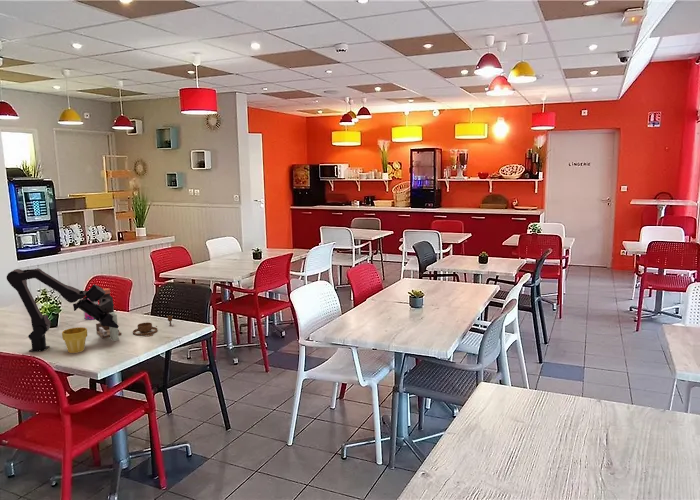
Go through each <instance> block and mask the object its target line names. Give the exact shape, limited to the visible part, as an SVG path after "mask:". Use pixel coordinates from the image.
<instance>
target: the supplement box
mask: <svg viewBox="0 0 700 500" xmlns="http://www.w3.org/2000/svg"><path fill="white" fill-rule="evenodd" d="M93 303H95V304H97V305H99V300H98V301H97V302H93ZM83 318H84V320H90V321H92V320H95V319H94V318H93V317H91V316H89V315H88V314H87V313H85V312H84V311H83Z"/></svg>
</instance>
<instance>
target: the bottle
mask: <svg viewBox="0 0 700 500" xmlns="http://www.w3.org/2000/svg"><path fill="white" fill-rule="evenodd" d="M102 289H103V290H104V291H105V292H106V293H105V294H104V295H103V296H102V297H101V298H100V299H99V300H98V305H99V304H100V303H101V299H103V298H105V299H106V300H107V299H110V300H111V301H112V302H113V303H114V297H112V296H111V288H108V287H107V288H102ZM114 310H115V309H114V306H113V307H110V308H108V309H107V310H106V311H107V312H108V313H112V312H114V313H115V311H114Z"/></svg>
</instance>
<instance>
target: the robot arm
mask: <svg viewBox="0 0 700 500" xmlns="http://www.w3.org/2000/svg"><path fill="white" fill-rule="evenodd" d="M30 279H36V280H38V281H39V282H41V283H42V284H44V285H46V286H47V287H49V288H51V289H52V290H55V292H57V293H58V294H59V295H61V297H62V298H63V299H64V300H65V301H67V302H68V303H72V307H73V311H77V310H78V309H79V310H81V311H82V312H83V313H84V312H85V313H87V314H88V315H89V316H91V317H93V318H94V320H96V322H99V323H100V324H101V325H102V326H104V327H105V326H107V327H113V328H118V329H119V327H120V326H119V325H118V323H117V324H116V323H115V322H114V321H113V316H112V315H111V314H110V313H108V312H107V311H106V310H107V309H108V308H110V307H114V306H115V304H114V301H113V302H112V301H111V300H110V299H107V300H106V299H105V298H103V299H101V303H100V304H99V303H98V305H97V304H95V303H93V302H97V301H98V302H99V299H100V298H101V297H102V296H103V295H104V294H105V293H106V292H105V291H104V290H103V289H104V288H102V287H101V286H99V285H96V284H92V286H90V288H89V289H88V290H80V289H78V288H76V287H74V286H71V285H69V284H68V285H66V284H65V283H63V282H61V281H60V280H58V279H56V278H55V277H53V276H51V275H50V274H49V273H46V272H45V271H44V270H42V269H41V268H37V267H36V268H32V269H23V270H22V269H20V268H15V269H13V270H11V271H10V272H8V273H7V274H6V281H7V282H8V283H9V285H10V286H11V287H12V288H13V289H14V290H16V291H17V293H18V296H19V298H20V299H21V302H22V303H23V305H24V307H25V309H26V311H27V313H28V315H29V317H30V321H31V322H30V323H31V328H32V331H31V332H30V333H29V334H28V339H29V340H30V341H31V349H29V350H28V352H29V353H30V352H44V351H46V350H47V349H48V348H50V345H47V337H46V334H47V332H48V331H49V330H50V327H51V323H52V321H51V320H50V318H49V316H48V314H46V315H43V314H42V312H41V310H40V309H39V307H38V305H37V302H36V301H35V299H34V296H33V295H32V292H31V291H30V289H29V287H28V280H30Z"/></svg>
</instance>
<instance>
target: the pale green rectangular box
mask: <svg viewBox="0 0 700 500" xmlns="http://www.w3.org/2000/svg"><path fill="white" fill-rule="evenodd" d="M110 314H111V315H112V316H113V321H114V322H115V323H116V324H117V325H118V315H117V313H115V311H114V312H112V313H110ZM109 329H110V339H111V341H112V342H116V341H120V339H119V337H120V336H118V329H119V327H118V328H113V327H109Z"/></svg>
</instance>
